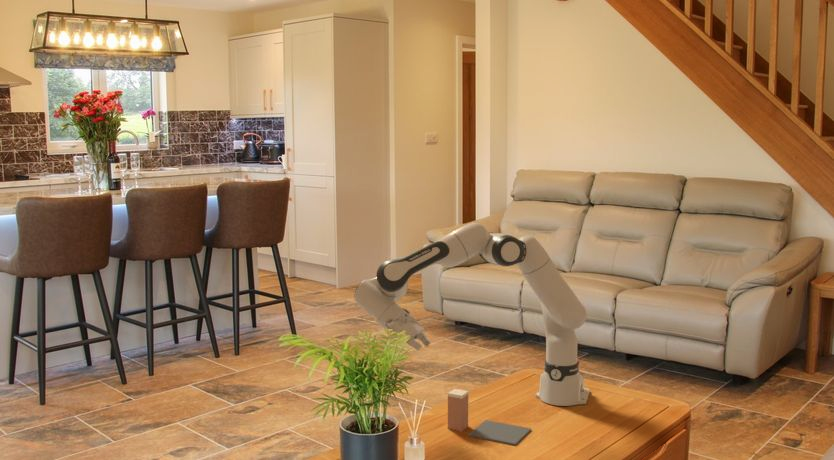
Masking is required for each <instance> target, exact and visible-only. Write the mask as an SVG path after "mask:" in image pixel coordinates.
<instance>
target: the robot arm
mask: <svg viewBox="0 0 834 460" xmlns="http://www.w3.org/2000/svg"><path fill="white" fill-rule="evenodd" d="M478 255H479V256H480V258H481V259H483V260H484V261H485V262H487V263H490V264H492V265H495V266H501V267H511V266H514V265H517V266H518V267H519V270H520V271H521V273H522V275H523V276H524V279H526V281H527V283H528V284H529V286H530V288H531V289H532V292H533V293H534V294H535V295H536V296H537V298H538V299H539V300H540V304H539V305H540V309H541V312H542V320H543V327H544V332H545V360H544V363H543V364H544V365H543V368H544V371H543V372H542V374H540V376H539V377H540V378H539V390H538V391H537V392H535V394H534V395H535V397H537V398H538V399H540V401H542V402H543V403H545V404H548V405H552V406H558V407H559V406H561V407H564V406H565V407H569V406H576V405H586V404H587V402H588V400H589V399H588V398H589V395H590V388H588V387H585V386H584V381H585V379H584V376H583V375H581V373H580V372H579V371H580V369H579V368H580V362H581V361H580V359H578V343H579V342H578V338H577V334H576V331H575V330H576V329H579V328H581V327H582V326H583V325H584V324H585V322H586V320H587V310H586V308H585V307H584V305H583V304H582V302H581V301H580V299H579V298H578V296H577V295H576V293H575V292H574V291H573V289H572V288H571V287H570V285H568V283H567V281H566V280H565V279H564V278H563V276H562V275H561V273H560V272H559V270H558V269H557V267H556V266H555V263H554V262H553V260H552V259H551V257H550V255H549V254H548V252H547V251H546V250H545V248H544V246H543V245H542V244H541V243H540V242H539V241H538V240H537V238H535V237H534V236H533V235H523V236H521V237H518V238H517V237H515V236H513V235H509V234H507V233H502V232H498V233H497V232H488V230H487V228H486V227H485V226H484V225H483V224H481V223H480V222H472V223H468V224H466V225H463V226H461V227H459V228H457V229H454V230H453V231H451V232H450V233H447V234H445V235H444V236H442V237H440V238H439V239H437V240H436V241H435V242H432V243H431V244H428V245H426V246H424V247H422V248H419V249H418V250H416V251H414V252H412V253H410V254H408V255H405V256H404V257H400V258H392V259H388V260H385V261H384V262H382V263H381V264H380V265H379V267H378V269H377V270H376V277H373V278H369V279H363V280H362V281H360V283H359V284H358V285H357V287H356V288H355V291H354V294H353V295H354V297H353V298H354V301H355V302H356V304H357V305H358V306H359V307H360V308H361V309H362V310H363V311H364V312H365V313H366V314H367V315H368V316H370V317H372V318H373V319H374V320H375V321H376V323H377V324H378V325H379V326H380V327H381V328H382V329H384V330H385V329H386V328H387V329H394V330H395V331H394V330H393V331H394V332H402V331H403V330H405V331H406V333H405V334H406V335H410V337H411V338H410V339H409V340H408V341H407V342H406V343H405V344H407V345H408V346H410V347H413V348H414V349H415V350H416V351H419V350H421V349H422V348H423V345H424V347H427V348H428V347H429V346H430V345H431V344H432V342H431V341H430V340H429V339H428V338H427V337H426V335H425V332H426V329H425V328H424V326H423V325H422V324H421V323H420V322H419V321H418V320H417V319H416V318H415V317H414V316H412V315H411V311H409V310H408V309H406V308H403V307H401V306H400V305H399V304H398V303H397V302H398V301H399V300H401V299H402V298H403V297H404V296H405V295H406V294H407V292H408V289H409V279H410V278H412V276H414V275H415V274H417V273H419V272H421V271H423V270H425V269H427V268H428V267H431V266H434V265H440V266H442V267H444V268H448V269H450V268H454V267H457V266H460V265H461V264H463V263H465V262H467V261H468V260H470V259H472V258H473V257H475V256H478ZM417 339H418V341H420V342H421V343H422V344H423V345H422V344H421V343H419V342H418V341H416V340H417Z"/></svg>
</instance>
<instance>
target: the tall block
mask: <svg viewBox="0 0 834 460" xmlns="http://www.w3.org/2000/svg"><path fill="white" fill-rule="evenodd" d="M468 427H469V391H468V390H465V389H459V388H453V389H452V390H451V391H449V392H448V393H447V429H448V430H452V431H458V432H463V431H464V430H466V429H467V428H468Z"/></svg>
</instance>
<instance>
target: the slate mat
mask: <svg viewBox="0 0 834 460" xmlns="http://www.w3.org/2000/svg"><path fill="white" fill-rule="evenodd" d="M531 431H532V428H531V427H525V426H519V425H513V424H509V423H503V422H498V421H494V420H493V421H492V420H488V419H485V420H484V421H483V422H481V423H480V424H479V425H478V426H477V427H475V428H474V429H473V430H471V431H470V432H469V433H468V434H467V436H468V437H472V438H476V439H482V440H486V441H490V442H497V443H502V444H505V445H506V444H507V445H511V446H517V445H518V443H520V442H521V441H522V440H523V439H524V438H525V437H526V436H527V435H528V434H529V433H530V432H531Z"/></svg>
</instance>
